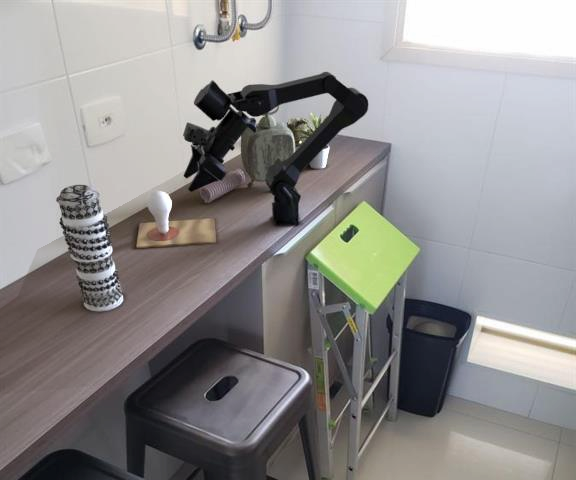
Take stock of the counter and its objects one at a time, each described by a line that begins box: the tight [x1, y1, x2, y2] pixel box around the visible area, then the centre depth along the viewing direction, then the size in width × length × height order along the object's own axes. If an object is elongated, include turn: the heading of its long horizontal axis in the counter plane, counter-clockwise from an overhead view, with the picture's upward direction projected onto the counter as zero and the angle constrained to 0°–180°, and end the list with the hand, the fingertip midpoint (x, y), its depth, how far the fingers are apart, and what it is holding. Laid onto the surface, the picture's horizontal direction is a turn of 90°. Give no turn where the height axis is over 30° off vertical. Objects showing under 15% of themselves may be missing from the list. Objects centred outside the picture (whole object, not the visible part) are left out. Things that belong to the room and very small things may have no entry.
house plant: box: [295, 111, 338, 170], centre depth 187 cm, size 14×14×16 cm
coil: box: [199, 168, 246, 204], centre depth 174 cm, size 5×5×18 cm
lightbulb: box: [146, 190, 173, 234], centre depth 150 cm, size 6×6×11 cm
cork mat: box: [135, 217, 217, 249], centre depth 154 cm, size 20×14×1 cm
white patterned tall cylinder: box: [55, 184, 124, 313], centre depth 121 cm, size 9×9×25 cm
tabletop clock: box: [240, 105, 296, 189], centre depth 169 cm, size 14×9×25 cm, turn 108°
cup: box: [286, 117, 309, 147], centre depth 206 cm, size 8×7×8 cm
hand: (187, 183), depth 147 cm, fingers open, 9 cm apart
